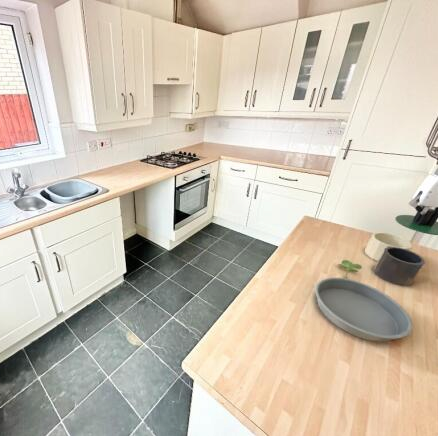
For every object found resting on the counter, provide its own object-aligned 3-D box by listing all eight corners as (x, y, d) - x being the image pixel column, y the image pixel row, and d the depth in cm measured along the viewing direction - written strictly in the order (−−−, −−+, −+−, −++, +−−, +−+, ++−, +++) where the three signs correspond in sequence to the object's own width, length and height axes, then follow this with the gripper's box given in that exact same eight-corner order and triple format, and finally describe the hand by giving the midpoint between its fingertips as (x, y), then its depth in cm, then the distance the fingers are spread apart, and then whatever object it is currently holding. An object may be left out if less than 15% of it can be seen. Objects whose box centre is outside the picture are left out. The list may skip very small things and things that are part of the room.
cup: (400, 269, 99) (413, 249, 94) (418, 288, 89) (432, 267, 85) (368, 264, 102) (378, 244, 97) (381, 282, 92) (394, 261, 88)
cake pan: (404, 365, 65) (413, 355, 63) (303, 314, 80) (307, 304, 78) (406, 311, 81) (413, 301, 78) (320, 276, 96) (324, 267, 94)
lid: (432, 220, 89) (442, 203, 86) (460, 239, 78) (473, 221, 74) (386, 215, 93) (394, 199, 89) (407, 233, 81) (418, 216, 78)
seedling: (340, 283, 99) (345, 270, 101) (362, 285, 91) (366, 270, 93) (328, 273, 98) (333, 260, 100) (349, 274, 91) (354, 259, 93)
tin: (392, 250, 110) (401, 234, 106) (409, 267, 99) (420, 250, 95) (359, 245, 113) (367, 230, 109) (372, 262, 103) (381, 245, 99)
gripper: (477, 171, 77) (444, 221, 85) (413, 167, 81) (388, 216, 90) (498, 179, 70) (460, 232, 79) (428, 174, 75) (399, 225, 84)
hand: (422, 223), depth 84 cm, fingers closed on lid, 2 cm apart
